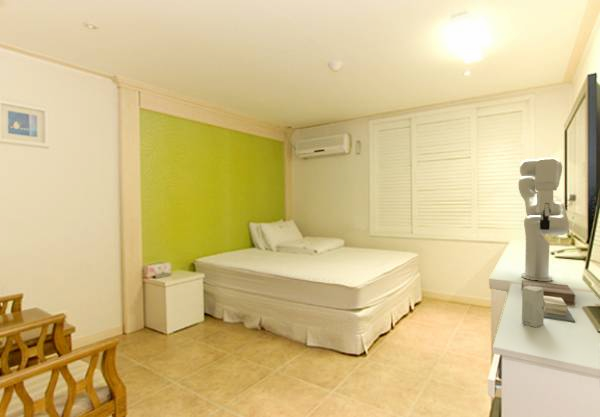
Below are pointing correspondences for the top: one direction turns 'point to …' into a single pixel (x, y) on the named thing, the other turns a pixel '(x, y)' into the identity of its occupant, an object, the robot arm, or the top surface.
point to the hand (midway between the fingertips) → (544, 229)
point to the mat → (560, 316)
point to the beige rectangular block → (554, 305)
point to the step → (553, 290)
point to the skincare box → (532, 306)
